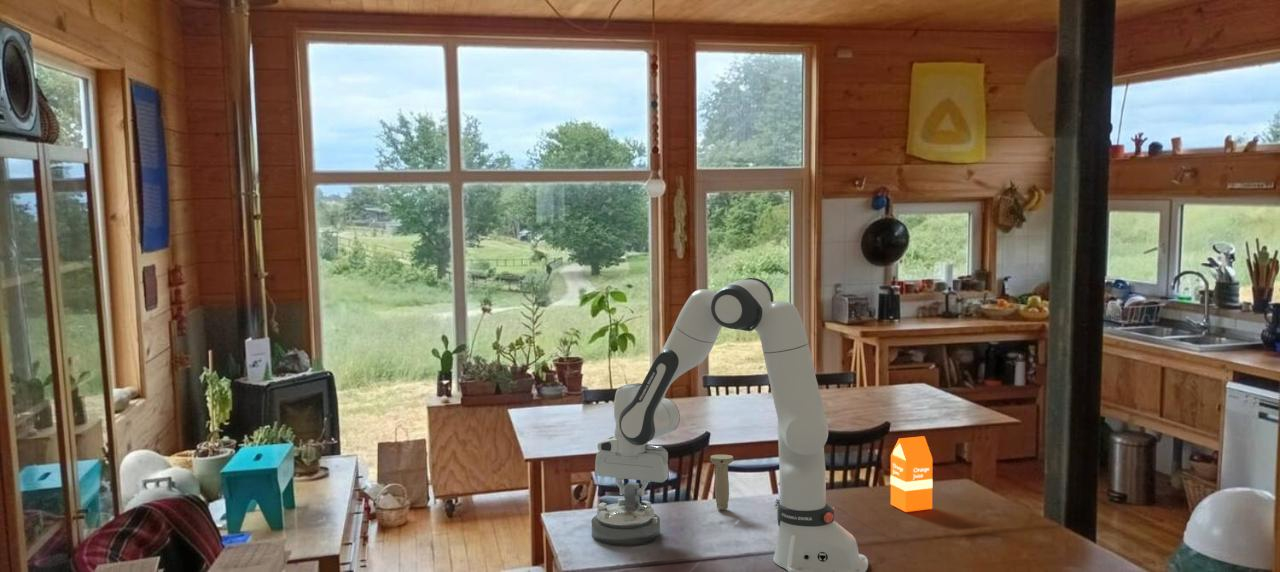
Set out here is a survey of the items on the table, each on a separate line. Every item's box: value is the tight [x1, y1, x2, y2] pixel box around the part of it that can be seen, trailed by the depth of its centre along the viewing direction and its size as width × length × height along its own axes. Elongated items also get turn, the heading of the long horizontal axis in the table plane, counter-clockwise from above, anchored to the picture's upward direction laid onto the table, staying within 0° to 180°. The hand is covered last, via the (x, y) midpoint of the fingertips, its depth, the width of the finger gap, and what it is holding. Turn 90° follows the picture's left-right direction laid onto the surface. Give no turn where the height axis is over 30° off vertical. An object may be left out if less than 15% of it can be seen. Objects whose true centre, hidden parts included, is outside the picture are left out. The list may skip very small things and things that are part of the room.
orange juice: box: [890, 435, 933, 513], centre depth 259 cm, size 8×9×20 cm
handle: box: [710, 454, 734, 510], centre depth 260 cm, size 5×6×15 cm
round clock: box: [596, 482, 655, 528], centre depth 239 cm, size 15×15×8 cm
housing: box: [591, 513, 661, 548], centre depth 240 cm, size 18×18×6 cm
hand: (632, 495), depth 243 cm, fingers open, 4 cm apart
